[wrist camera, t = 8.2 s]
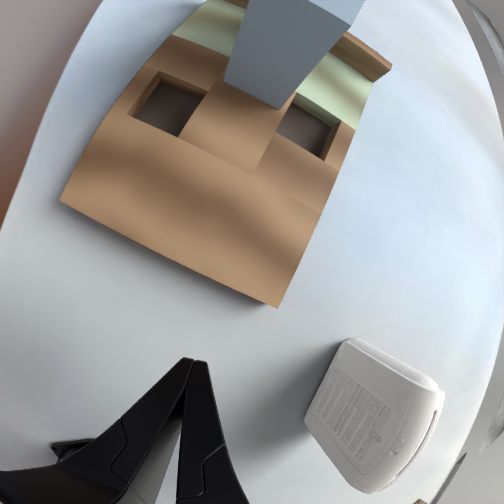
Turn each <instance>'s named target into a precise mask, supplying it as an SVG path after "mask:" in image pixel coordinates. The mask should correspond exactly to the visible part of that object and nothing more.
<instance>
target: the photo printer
mask: <svg viewBox="0 0 504 504" xmlns="http://www.w3.org/2000/svg"><path fill="white" fill-rule="evenodd" d="M444 397H445V390H444V389H443V388H442V387H440V386H439V385H437V384H436V383H435V382H434V381H433V380H432V379H431V378H430V377H429V376H427V375H425V374H423V373H421V372H419V371H418V370H416V369H414V368H412V367H410V366H408V365H407V364H405V363H403V362H401V361H399V360H398V359H396V358H394V357H392V356H390V355H388V354H387V353H385V352H383V351H381V350H379V349H378V348H376V347H374V346H372V345H370V344H369V343H367V342H365V341H363V340H361V339H358V338H352V339H349V340H347V341H344V342H343V343H342V344H341V346H340V347H339V349H338V351H337V352H336V354H335V356H334V358H333V360H332V362H331V364H330V366H329V369H328V371H327V373H326V375H325V377H324V379H323V381H322V383H321V385H320V387H319V389H318V391H317V393H316V394H315V396H314V398H313V400H312V402H311V404H310V406H309V408H308V410H307V413H306V415H305V418H304V424H305V426H306V427H307V429H308V430H309V431H310V433H311V434H312V435H313V437H314V438H315V439H316V441H317V442H318V444H319V445H320V446H321V448H322V449H323V450H324V452H325V453H326V454H327V456H328V457H329V459H330V460H331V461H332V463H333V464H334V465H335V467H336V468H337V469H338V470H339V472H340V473H341V474H342V476H343V477H344V478H345V480H346V481H347V482H348V483H349V484H350V485H351V486H352V487H354V488H355V489H357V490H359V491H361V492H364V493H367V494H371V493H373V492H376V491H378V492H379V491H381V490H383V489H385V488H386V487H388V486H389V485H391V484H392V483H394V482H395V481H396V480H397V479H398V478H400V477H401V476H402V475H403V474H404V473H405V472H406V471H407V470H408V469H409V468H410V466H411V465H412V464H413V463H414V462H415V460H416V459H417V458H418V456H419V455H420V454H421V452H422V451H423V449H424V448H425V446H426V444H427V443H428V441H429V439H430V437H431V435H432V433H433V431H434V429H435V427H436V424H437V422H438V419H439V416H440V413H441V410H442V407H443V402H444Z"/></svg>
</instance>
